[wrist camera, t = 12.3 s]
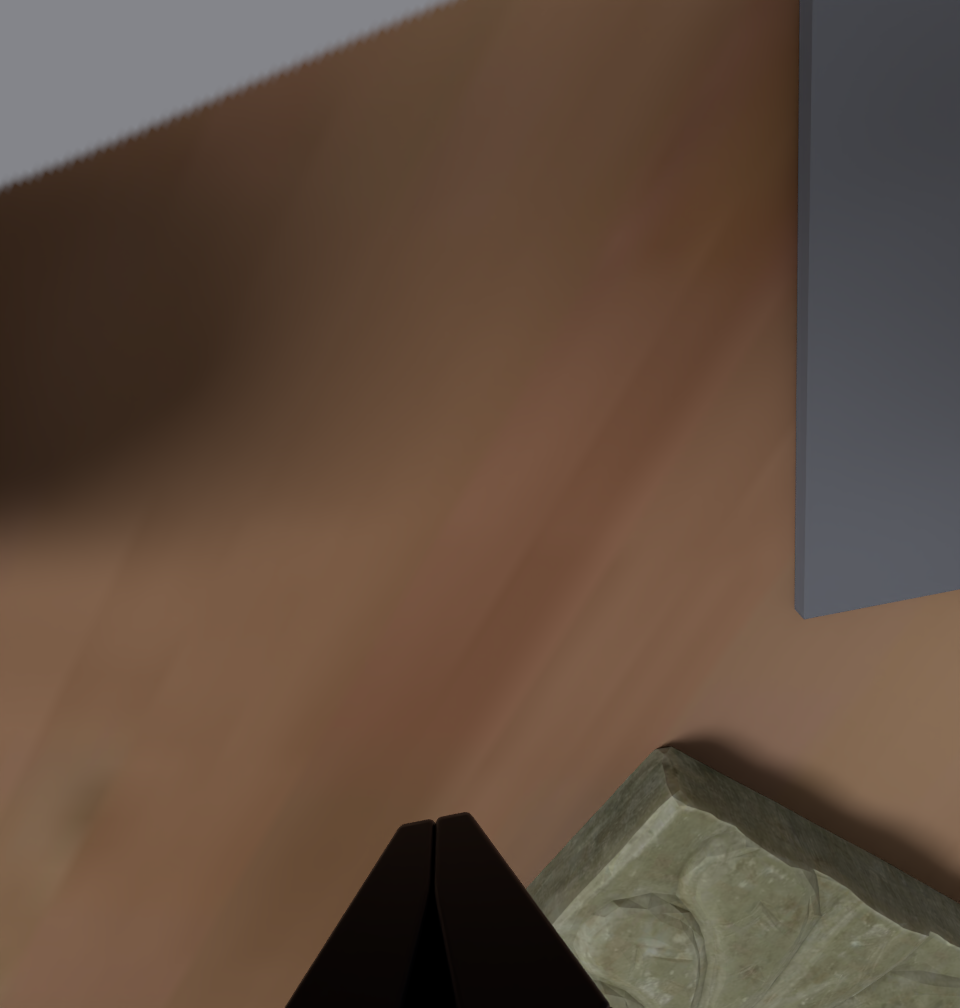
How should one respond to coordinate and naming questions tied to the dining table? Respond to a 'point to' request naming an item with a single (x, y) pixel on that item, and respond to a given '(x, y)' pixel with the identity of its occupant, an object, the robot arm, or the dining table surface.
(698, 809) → the decorative tile
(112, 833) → the dining table surface
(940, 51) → the mat
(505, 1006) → the robot arm
